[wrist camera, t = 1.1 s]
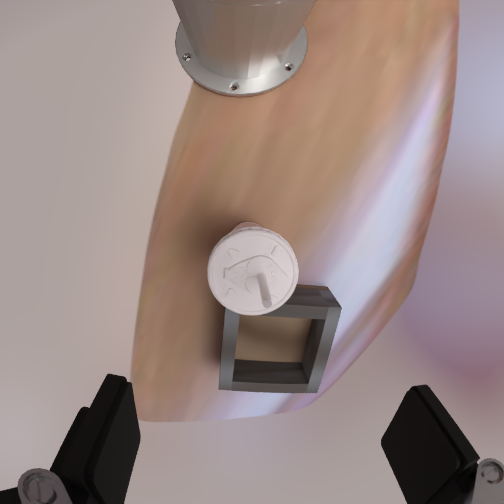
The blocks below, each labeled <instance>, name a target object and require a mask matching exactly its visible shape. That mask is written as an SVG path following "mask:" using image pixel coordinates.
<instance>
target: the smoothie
mask: <svg viewBox="0 0 504 504" xmlns="http://www.w3.org/2000/svg"><path fill="white" fill-rule="evenodd" d="M207 270H208V282H209V286H210V289H211V291H212V293H213V295H214V296H215V298H216V299H217V300H218V301H219V302H220V303H221V304H222V305H223V306H225V307H226V308H227V309H229V310H231V311H233V312H236V313H239V314H243V315H262V314H266V313H269V312H271V311H273V310H275V309H277V308H279V307H280V306H282V305H283V304H284V303H285V302H286V301H287V300H288V299H289V298H290V296H291V295H292V293H293V291H294V290H295V287H296V285H297V281H298V273H299V272H298V263H297V260H296V257H295V254H294V251H293V250H292V248H291V247H290V245H289V243H288V242H287V241H286V240H285V239H284V238H283V237H281V236H280V235H279V234H277V233H275V232H273V231H271V230H269V229H266V228H263V227H261V226H260V225H258V224H257V223H254V222H243V223H240V224H238V225H237V226H236V227H234V229H233V230H232V231H231V232H230V233H229V234H227V235H226V236H224V237H223V238H222V239H221V240H220V241H219V242H218V243H217V244H216V245H215V247H214V248H213V251H212V253H211V255H210V257H209V262H208V267H207Z"/></svg>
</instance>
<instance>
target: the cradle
mask: <svg viewBox="0 0 504 504" xmlns="http://www.w3.org/2000/svg"><path fill="white" fill-rule="evenodd" d="M341 309H342V307H341V306H340V304H339V303H338V301H337V300H336V298H335V297H334V296H333V294H332V293H331V291H330V290H329V288H328V287H322V286H309V285H296V287H295V290H294V291H293V293H292V295H291V296H290V298H289V299H288V300H287V301H286V302H285V303H284V304H283V305H282V306H280V307H279V308H277V309H275V310H273V311H271V312H269V313H266V314H262V315H243V314H239V313H236V312H233V311H231V310H229V309H227V308H226V307H225V314H224V325H223V337H222V348H221V360H220V376H219V390H232V391H248V392H271V393H317V392H318V389H319V386H320V383H321V379H322V376H323V373H324V370H325V367H326V363H327V360H328V357H329V353H330V350H331V346H332V343H333V339H334V336H335V332H336V328H337V325H338V321H339V317H340V313H341Z"/></svg>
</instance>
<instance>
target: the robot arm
mask: <svg viewBox="0 0 504 504" xmlns="http://www.w3.org/2000/svg"><path fill="white" fill-rule="evenodd" d="M172 1H173V3H174V5H175V8H176V10H177V13H178V15H179V17H180V20H181V21H180V23H179V26H178V29H177V32H176V40H175V45H176V53H177V56H178V58H179V61H180V63H181V65H182V67H183V68H184V70H185V71H186V72H187V74H188V75H189V76H190V77H191V78H192V79H193V80H194V81H195V82H197V83H198V84H199V85H201V86H202V87H204V88H206V89H208V90H210V91H212V92H216V93H219V94H222V95H227V96H235V97H247V96H254V95H260V94H264V93H266V92H269V91H272V90H274V89H276V88H278V87H279V86H281V85H283V84H284V83H286V82H287V81H288V80H289V79H290V78H291V77H292V76H293V75H294V74H295V73H296V72H297V70H298V69H299V67H300V66H301V64H302V62H303V61H304V58H305V55H306V52H307V44H308V39H307V31H306V28H305V26H304V23H305V21H306V19H307V17H308V15H309V13H310V11H311V10H312V8H313V6H314V4H315V2H316V0H172ZM187 58H191V59H190V60H189V61H186V59H187ZM286 67H288V68H290V71H287V70H286ZM234 86H235V87H237V90H232V89H231V88H232V87H234ZM139 444H140V429H139V424H138V419H137V413H136V407H135V401H134V395H133V388H132V383H131V382H127V379H126V378H125V377H123V376H118V375H113V374H107V376H106V378H105V379H104V381H103V383H102V385H101V387H100V389H99V391H98V393H97V395H96V397H95V398H94V400H93V403H92V404H91V406H90V408H88V407H82V408H81V409H80V411H79V412H78V414H77V416H76V418H75V420H74V422H73V424H72V426H71V427H70V430H69V431H68V433H67V436H66V438H65V439H64V441H63V444H62V445H61V447H60V450H59V452H58V454H57V456H56V458H55V460H54V462H53V464H52V466H51V468H50V470H46V469H41V468H37V469H31V470H28V471H26V472H25V473H24V474H22V476H21V477H20V479H19V481H18V486H17V487H15V488H11V489H7V490H3V491H0V504H124V501H125V497H126V493H127V489H128V485H129V481H130V477H131V474H132V470H133V466H134V462H135V459H136V455H137V451H138V448H139ZM381 446H382V448H383V450H384V452H385V455H386V457H387V459H388V461H389V464H390V466H391V468H392V470H393V472H394V475H395V477H396V479H397V481H398V484H399V486H400V488H401V490H402V492H403V495H404V497H405V500H406V502H407V504H504V465H503V464H502V463H501V462H500V461H498V460H496V459H492V458H488V459H484V460H483V461H481V462H480V463H479V464H477V461H478V460H479V459H480V457H479V455H478V454H477V453H476V451H475V450H474V448H473V447H472V445H471V444H470V442H469V441H468V440H467V438H466V437H465V435H464V434H463V433H462V431H461V430H460V428H459V427H458V425H457V424H456V423H455V421H454V420H453V418H452V417H451V416H450V414H449V413H448V412H447V410H446V409H445V408H444V406H443V405H442V404H441V402H440V401H439V399H438V398H437V397H436V396H435V394H434V393H433V391H432V390H431V389H430V387H428V385H419V386H413V387H411V388H410V390H409V391H407V393H406V394H405V396H404V398H403V400H402V402H401V404H400V406H399V408H398V410H397V412H396V414H395V416H394V418H393V419H392V421H391V423H390V425H389V426H388V428H387V430H386V432H385V433H384V435H383V437H382V439H381Z"/></svg>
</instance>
